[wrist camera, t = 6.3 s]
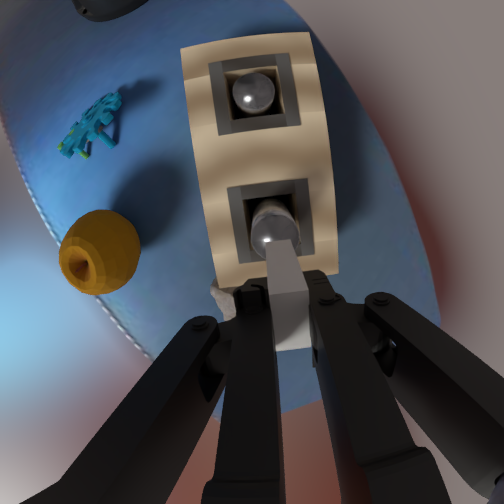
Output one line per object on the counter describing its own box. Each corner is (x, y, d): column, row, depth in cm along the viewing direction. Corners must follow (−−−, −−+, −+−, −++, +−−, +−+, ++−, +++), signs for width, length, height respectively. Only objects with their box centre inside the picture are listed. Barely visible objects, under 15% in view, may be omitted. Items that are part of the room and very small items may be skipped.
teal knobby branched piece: (124, 77, 25) (101, 123, 21) (149, 106, 30) (135, 157, 26) (68, 118, 28) (42, 169, 24) (92, 141, 33) (74, 192, 29)
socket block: (198, 71, 27) (180, 48, 19) (297, 58, 26) (309, 31, 18) (227, 259, 35) (219, 289, 27) (321, 247, 34) (338, 274, 26)
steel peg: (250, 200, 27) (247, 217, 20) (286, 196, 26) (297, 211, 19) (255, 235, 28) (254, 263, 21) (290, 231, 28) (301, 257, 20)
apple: (101, 270, 36) (56, 309, 25) (88, 205, 33) (33, 228, 22) (159, 269, 35) (122, 315, 24) (148, 198, 32) (100, 220, 21)
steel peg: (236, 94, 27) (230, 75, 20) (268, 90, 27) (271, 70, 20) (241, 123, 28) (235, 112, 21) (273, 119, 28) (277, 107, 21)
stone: (200, 295, 37) (191, 319, 31) (231, 249, 34) (226, 267, 29) (259, 329, 38) (259, 356, 33) (294, 289, 36) (299, 312, 31)
